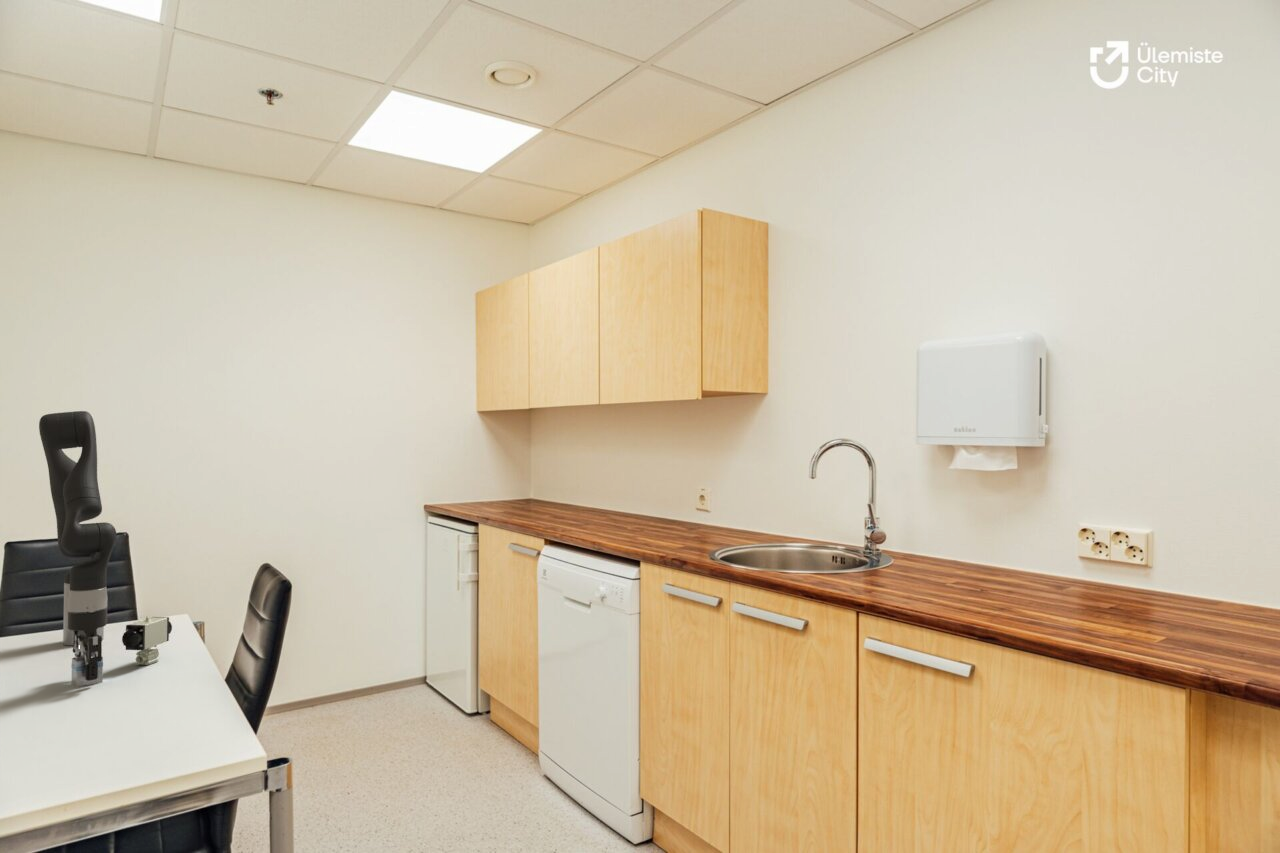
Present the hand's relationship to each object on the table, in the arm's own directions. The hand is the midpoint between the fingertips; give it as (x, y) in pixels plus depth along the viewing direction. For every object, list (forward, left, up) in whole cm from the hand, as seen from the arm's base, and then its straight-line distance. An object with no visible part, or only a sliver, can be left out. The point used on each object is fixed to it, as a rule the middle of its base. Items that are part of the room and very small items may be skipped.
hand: (86, 675), depth 174 cm
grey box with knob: (0, 0, -2) cm, 2 cm away
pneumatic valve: (-7, +14, -2) cm, 16 cm away
